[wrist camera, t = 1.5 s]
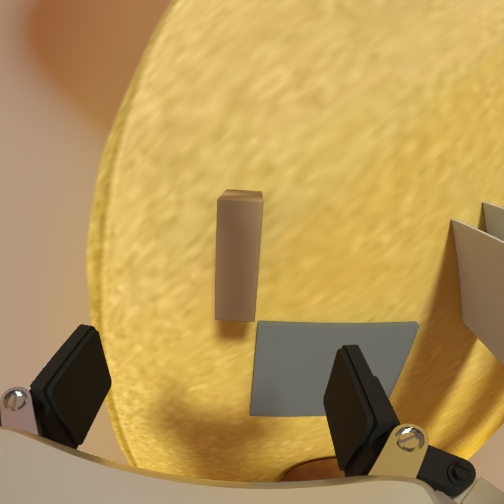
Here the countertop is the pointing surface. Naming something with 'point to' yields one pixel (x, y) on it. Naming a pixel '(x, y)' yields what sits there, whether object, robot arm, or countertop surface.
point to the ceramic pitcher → (315, 471)
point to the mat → (320, 361)
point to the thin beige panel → (483, 277)
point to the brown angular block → (237, 254)
